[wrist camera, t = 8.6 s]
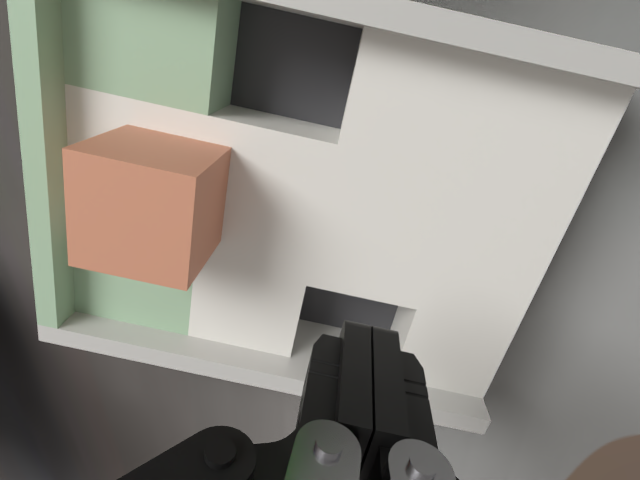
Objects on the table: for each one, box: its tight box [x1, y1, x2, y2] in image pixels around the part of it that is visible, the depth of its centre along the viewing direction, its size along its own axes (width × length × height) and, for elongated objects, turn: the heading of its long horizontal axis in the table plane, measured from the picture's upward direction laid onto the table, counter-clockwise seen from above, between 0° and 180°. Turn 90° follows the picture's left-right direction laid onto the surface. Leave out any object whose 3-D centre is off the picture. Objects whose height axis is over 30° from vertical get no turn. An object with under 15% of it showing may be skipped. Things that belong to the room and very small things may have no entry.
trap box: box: [7, 0, 640, 435], centre depth 21 cm, size 23×18×6 cm
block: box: [62, 124, 232, 291], centre depth 17 cm, size 4×4×4 cm
